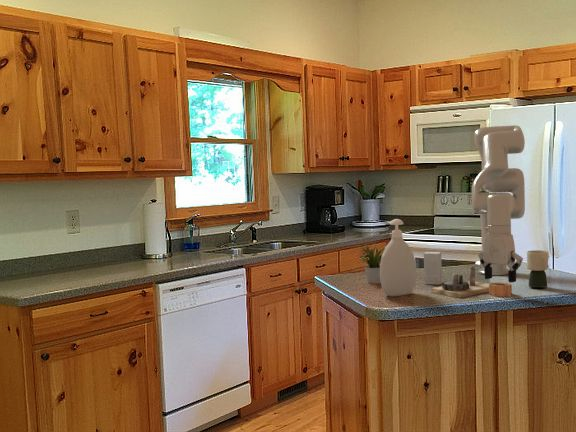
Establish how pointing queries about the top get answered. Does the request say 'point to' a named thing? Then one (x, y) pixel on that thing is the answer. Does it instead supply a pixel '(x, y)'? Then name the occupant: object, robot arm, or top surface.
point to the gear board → (463, 293)
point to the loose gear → (500, 289)
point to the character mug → (537, 267)
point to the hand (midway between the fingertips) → (500, 280)
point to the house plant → (372, 264)
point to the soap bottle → (397, 265)
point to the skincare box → (432, 268)
